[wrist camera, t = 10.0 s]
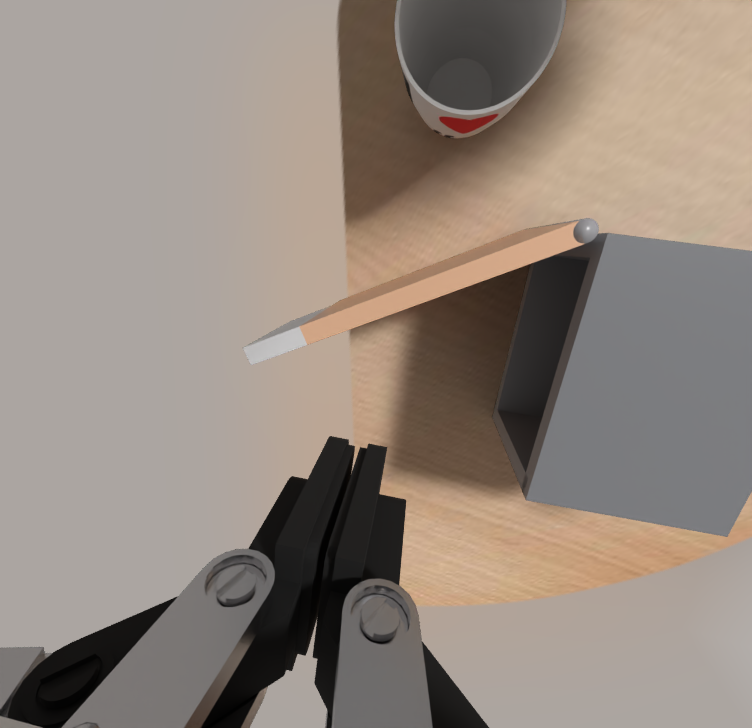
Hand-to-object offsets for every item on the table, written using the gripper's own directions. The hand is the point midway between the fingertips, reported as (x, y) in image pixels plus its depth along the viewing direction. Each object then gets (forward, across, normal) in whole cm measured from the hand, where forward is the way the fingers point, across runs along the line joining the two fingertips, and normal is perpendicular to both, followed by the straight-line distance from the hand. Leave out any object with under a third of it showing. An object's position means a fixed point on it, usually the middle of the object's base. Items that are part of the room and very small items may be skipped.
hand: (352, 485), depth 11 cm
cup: (+24, -1, -17) cm, 30 cm away
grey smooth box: (+24, -16, 0) cm, 28 cm away
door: (+23, 0, -3) cm, 24 cm away
